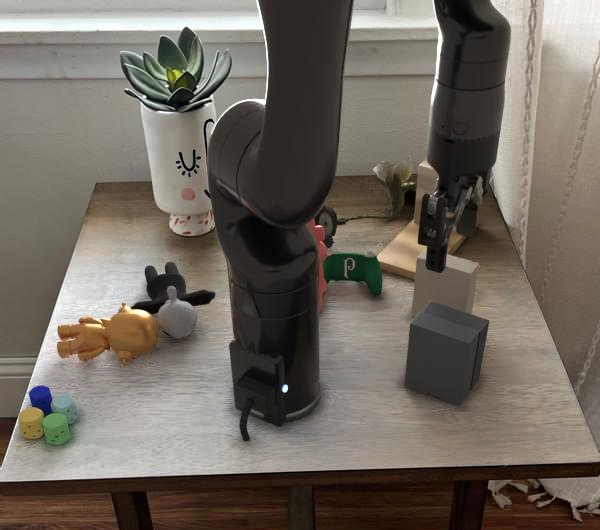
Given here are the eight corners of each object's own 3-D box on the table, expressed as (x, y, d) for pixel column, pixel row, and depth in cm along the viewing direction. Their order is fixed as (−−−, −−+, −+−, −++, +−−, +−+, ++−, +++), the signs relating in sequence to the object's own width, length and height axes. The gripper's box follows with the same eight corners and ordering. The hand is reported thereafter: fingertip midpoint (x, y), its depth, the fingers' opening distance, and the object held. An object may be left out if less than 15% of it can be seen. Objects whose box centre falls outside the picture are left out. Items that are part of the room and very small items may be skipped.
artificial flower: (294, 242, 120) (288, 172, 116) (410, 211, 131) (408, 146, 127) (331, 253, 113) (326, 179, 109) (449, 219, 124) (449, 152, 120)
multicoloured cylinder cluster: (57, 393, 95) (5, 418, 92) (52, 376, 93) (-1, 401, 90) (92, 431, 90) (38, 459, 87) (88, 414, 88) (33, 442, 85)
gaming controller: (381, 299, 110) (383, 255, 110) (381, 294, 106) (384, 248, 107) (312, 296, 111) (315, 253, 111) (310, 291, 107) (313, 246, 107)
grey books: (460, 406, 92) (470, 343, 86) (404, 385, 95) (409, 323, 89) (479, 378, 95) (490, 316, 89) (424, 358, 98) (431, 297, 92)
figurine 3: (304, 324, 104) (303, 219, 93) (279, 305, 107) (275, 202, 96) (335, 308, 106) (337, 204, 96) (309, 290, 109) (308, 188, 99)
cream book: (462, 334, 101) (471, 273, 95) (411, 317, 104) (416, 257, 98) (470, 324, 103) (479, 263, 97) (419, 307, 106) (425, 247, 100)
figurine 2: (121, 292, 110) (138, 355, 99) (113, 253, 106) (130, 315, 95) (202, 277, 112) (228, 337, 101) (197, 239, 109) (223, 297, 98)
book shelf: (426, 283, 110) (433, 216, 103) (373, 266, 113) (376, 200, 106) (476, 225, 120) (486, 160, 113) (426, 211, 123) (433, 147, 116)
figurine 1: (65, 381, 100) (164, 373, 99) (49, 363, 94) (153, 354, 94) (67, 318, 102) (163, 309, 102) (51, 296, 97) (152, 288, 96)
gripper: (459, 88, 92) (446, 216, 103) (402, 139, 83) (394, 273, 94) (524, 101, 89) (503, 231, 100) (471, 156, 80) (454, 292, 91)
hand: (450, 251), depth 97 cm, fingers open, 8 cm apart
